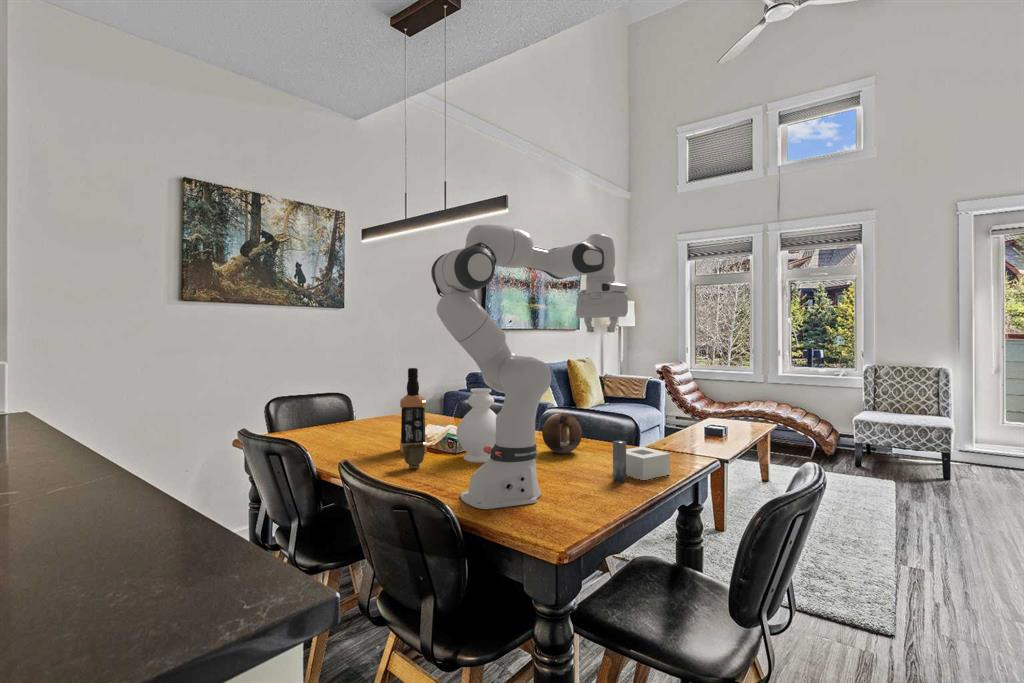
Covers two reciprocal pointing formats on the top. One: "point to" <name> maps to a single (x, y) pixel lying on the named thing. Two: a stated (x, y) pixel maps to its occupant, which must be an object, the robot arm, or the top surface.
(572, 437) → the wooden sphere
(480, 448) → the decorative vase
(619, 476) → the steel pin
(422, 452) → the cup
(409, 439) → the whiskey bottle
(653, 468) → the block
